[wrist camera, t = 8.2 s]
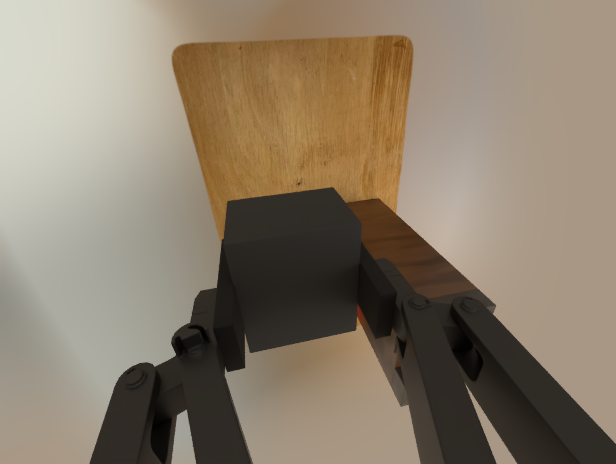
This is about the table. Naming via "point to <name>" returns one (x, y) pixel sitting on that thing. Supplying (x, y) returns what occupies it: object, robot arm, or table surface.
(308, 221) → the pad
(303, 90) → the table surface
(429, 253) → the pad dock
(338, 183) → the table surface
